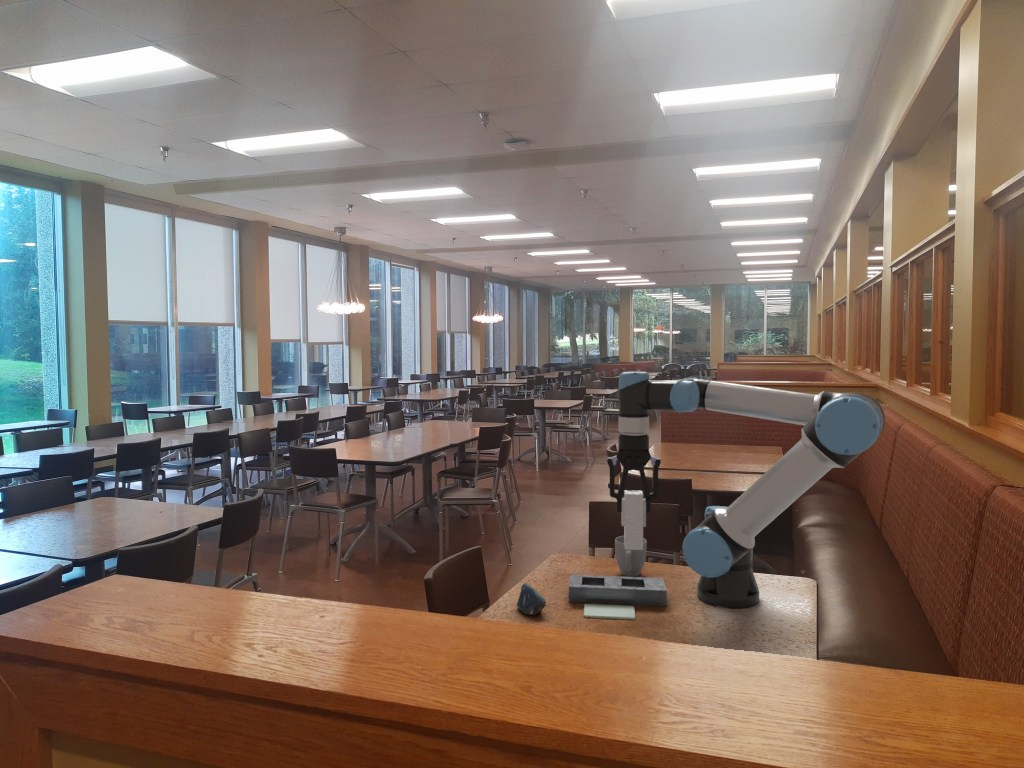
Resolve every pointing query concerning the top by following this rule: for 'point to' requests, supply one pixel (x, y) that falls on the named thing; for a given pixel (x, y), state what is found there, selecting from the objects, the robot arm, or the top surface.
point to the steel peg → (633, 520)
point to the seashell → (530, 600)
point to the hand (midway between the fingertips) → (633, 524)
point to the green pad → (609, 611)
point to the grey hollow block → (617, 590)
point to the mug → (629, 558)
